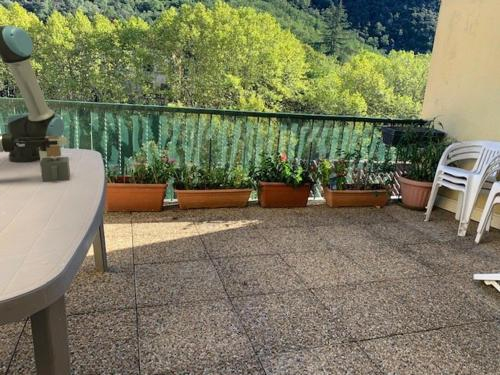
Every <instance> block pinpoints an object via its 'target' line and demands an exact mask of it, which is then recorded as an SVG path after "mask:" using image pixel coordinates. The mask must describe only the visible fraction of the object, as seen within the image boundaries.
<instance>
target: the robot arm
mask: <svg viewBox="0 0 500 375" xmlns="http://www.w3.org/2000/svg"><path fill="white" fill-rule="evenodd" d="M33 47H34V43H33V40H32V37H31V36H30V34H29V33H28V32H27V31H26V30H25V29H23V28H21V27H20V26H19V27H18V26H12V25H8V26H7V25H6V26H5V25H4V26H2V25H0V59H1V61H2V63H3V64H6V65H8V67H9V69H10V71H11V72H10V73H11V74H12V76H13V79H14V81H15V83H16V86H17V87H18V90H19V92H20V94H21V97H22V99H23V102H24V104H25V106H26V108H27V110H28V112H24V113H16V114H10V115H8V116H7V128H8V133H3V134H2V133H0V153H3V152H4V153H8V160H9V161H10V162H13V163H15V162H16V163H18V162H19V163H27V162H34V161H35V162H36V161H39V160H40V154H39V150H40V147H47V148H49V145H50V146H60V147H61V146H68V136H63V135H64V132H65V123H64V120H63V119H62V118H61V117H59V116H56V115H55V111H54V110H53V109H51V108H49V106H48V103H47V101H46V98H45V96H44V94H43V91H42V89H41V86H40V83H39V81H38V79H37V76H36V74H35V71H34V69H33V66H32V64H31V59H32V57H33V56H32V53H33V52H34V51H33V50H34V48H33ZM46 136H59V139H49V140H45V137H46Z"/></svg>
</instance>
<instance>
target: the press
mask: <svg viewBox="0 0 500 375" xmlns="http://www.w3.org/2000/svg"><path fill="white" fill-rule="evenodd" d="M69 160H70V159H69V156H62V157H57V160H54V161H53V158H43V159H42V161H40V164H39V165H40V172H41V178H42V182H43V183H46V182H47V183H48V182H59V181H60V182H61V181H63V182H64V181H70V177H71V170H70V162H69Z"/></svg>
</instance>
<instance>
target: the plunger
mask: <svg viewBox="0 0 500 375" xmlns="http://www.w3.org/2000/svg"><path fill="white" fill-rule="evenodd" d="M49 139H59V136H46V137H45V140H49ZM46 151H47V157H52V158H53V161H54V160H57V156H61V155H62V149H61V146H50V145H49V148H47V147H46Z"/></svg>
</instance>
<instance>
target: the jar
mask: <svg viewBox="0 0 500 375" xmlns="http://www.w3.org/2000/svg"><path fill="white" fill-rule="evenodd" d="M39 148H40V150H39V154H40V162H41V161H42V159H43V158H52V157H47V151H46V147H39ZM57 157H63V156H62V154H61V156H57Z"/></svg>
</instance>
